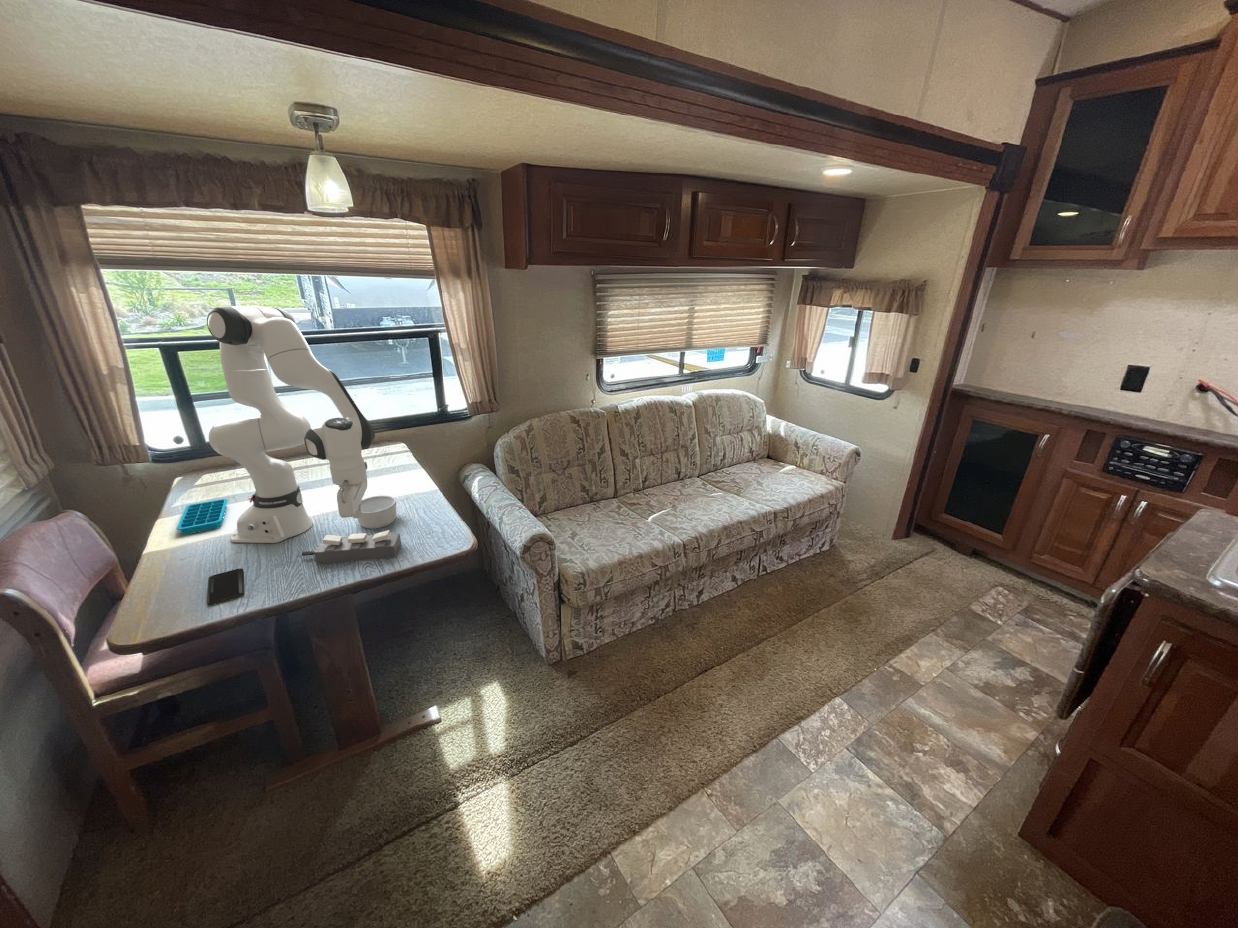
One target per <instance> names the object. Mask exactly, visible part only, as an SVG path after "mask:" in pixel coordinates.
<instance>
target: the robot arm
mask: <svg viewBox="0 0 1238 928" xmlns="http://www.w3.org/2000/svg"><path fill="white" fill-rule="evenodd" d="M206 325H207V329H208V331H209V333H210V335H211V336H212V337H213V338H214V339H215V340H216V341H217V342H219V353H220V354H219V355H220V362H221V368H222V372H223V377H224V380H225V384H226V387H227V391H228V395H229V397H230V399H231V400H233V401H234V402H235V403H237V404H240V405H243V406H246V407H250V408H254V409H255V410H258V411H259V413H260V415H259V416H254V417H252V416H251V417H244V418H243V417H242V418H236V419H230V420H226V421H222V422H219V423H216V424H214V425H213V426H212V427H211V428H210V430H209V434H208V442H209V444H210V446H211V448H212V449H213V450H214V451H215V452H216V453H217V454H219V455H221V456H224V457H227V458H229V459H232V460H233V461H235V462H236V463H238V464H240V465H241V466H242V467H243V468H244V469H245V470H246V472H247V473H248V474H249V476H250V478H251V480H252V483H253V486H254V489H255V493H253V494H252V495H251V497H250V498H249V499H248V500H249V503H252V502H253V504H252V505H251V506H249V507H248V508H247V509H246V510H245V511H244V512H242V514H241V515H240V516H239V517H238V519H237V521H236V529H235V530H234V531H233V532H232V533H231V535H230V538H229V539H230V542H231V543H249V544H250V543H253V544H254V543H255V544H277V543H280V542H283V541H285V540H286V539H288V538H292V537H295V536H298V535H300V534H302V533H304V532H307V531H308V530H309V529H310V528H311V527H312V526H313V521H312V519H311V518H310V516H309V514H308V513H307V510H306V509H305V506H304V503H303V502H304V501H303V496H302V492H301V489H300V486H299V485H298V483H297V479H296V474H295V471H294V468H293V466H292V465H291V464H290V463H289V462H287V461H285V460H282V459H280V458H274V457H272V456H270V455H268V454H266V453H267V452H273V451H277V450H278V451H279V450H285V449H291V448H295V447H298V446H302V445H304V444H305V448H306V451H307V454H308V455H310V456H312V457H313V458H316V459H318V460H321V461H325V460H327V461H328V462H329V469H330V474H331V479H332V484H334V485H336V486H338V487H339V489H338V491H337V494H336V499H337V500H336V502H337V509H338V513H339V514H338V515H339V516H340V517H341V518H343V519H344V518H352V519H357V518H359V517H360V515H361V513H362V512H361V500H363V499H364V495H365V493H366V491H367V488H368V475H367V470H368V463H367V461H365V460H364V458H363V454H362V451H363V450H364V451H365V450H368V449H369V448H370V447H371V446H372V444H373V442H374V440H375V437H376V433H375V429H374V428H373V426H372V424H371V423H370V421H369V420H368V419H367V418H366V417H365V415H363V413H362V412H361V410H360V408H359V407H358V405H356V403H355V401H354V399H353V398H352V397H351V395H350V394H349V392H348V390H347V389H346V387H345V386H344V384H343V383H342V382H341V380H340V378H339V376H337V374H336V373H335V372H334V371H333V370H332V369H330V368H326V366H324V365H322V364H321V363H320V362H319V361H318V360H317V358H316V357H315V356H314V354H313V353H312V350H311V347H310V346H309V344H308V342H307V340H306V338H305V336H304V335H303V333H302V332H301V331H300V329H299V327H298V326H297V322H296V320H295V318H294V316H293V315H292V314H291V313H290V312H289V311H286V310H284V309H280V308H277V307H266V306H259V305H241V306H240V305H239V306H237V305H235V306H231V305H220V306H216V307H213V308H211V309H210V311H209V312H208V315H207V318H206ZM267 362H268V363H267ZM268 364H269V366H268ZM269 367H270V369H271V371H272V373H273V374H274V376H275V377H276V378H277V379H278V380H279V381H280V382H282V383H284V384H285V385H287V386H290V387H292V388H298V389H304V390H305V389H306V390H312V391H317V392H319V393H322V394H324V395H326V396H327V397H328V398H329V399H330V400H331V401H332V403H333V404H334V406H335V407H336V409H337V410H338V412H339V413H340V415H341V416H342V417H333V418H329V419H327V420H325V421H324V422H323V423H322V424H321V425H317V426H313V427H311V424H310V421H308V419H307V418H306V417H305V416H304V415H302V414H300V413H297V412H296V411H294V410H292V409H290V408H289V407H288V406H287V405H285V404H284V403H283V401H282V400H281V399H280V397H279V396H278V394H277V392H276V389H275V386H274V383H273V381H272V378H271V374H270V369H269Z"/></svg>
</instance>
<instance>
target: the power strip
mask: <svg viewBox="0 0 1238 928" xmlns="http://www.w3.org/2000/svg"><path fill="white" fill-rule="evenodd" d="M374 535H375V534H369V535H368V534H367V538H366V540H365V542H360V543H348V538H349V536H342V541H341V543H340V544H339V545H330V544H323V539H322V540H321V542H320V543H319V545H318V546H317V547H316V549H315V550H311V551H310V550H309V551H302V552H301V557H305V556H307V557H309V556H314V558H315V562H316V565H321V564H334V563H345V562H357V561H367V560H368V561H369V560H370V561H371V560H380V559H382V560H383V559H393V558H396V557H397V555H398V552H399V551H400V548H401V545H402V541H401V534H400V533H399V532H395V533H394V532H393V533H391V535H390V537H389V539H386V540H382V541H378V542H375V543H374V541H373V537H374Z"/></svg>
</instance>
